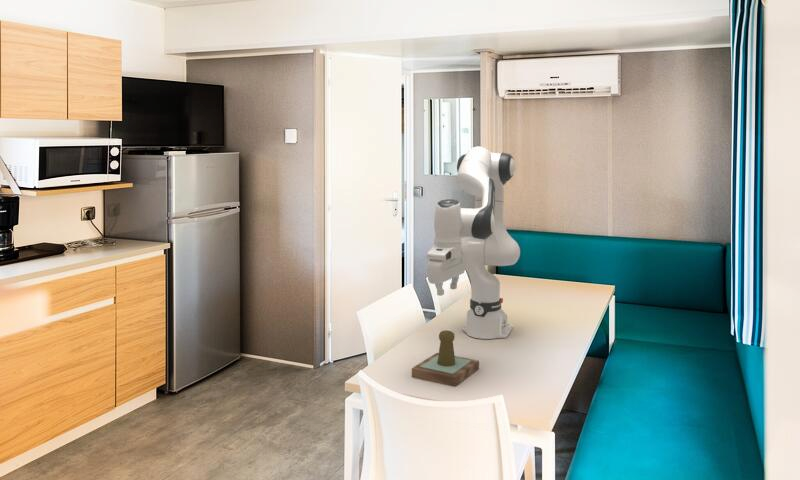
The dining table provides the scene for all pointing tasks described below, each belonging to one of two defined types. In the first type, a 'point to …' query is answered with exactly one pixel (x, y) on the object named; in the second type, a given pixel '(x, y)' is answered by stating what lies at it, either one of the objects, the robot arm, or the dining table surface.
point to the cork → (446, 349)
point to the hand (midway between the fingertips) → (447, 292)
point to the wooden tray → (445, 370)
